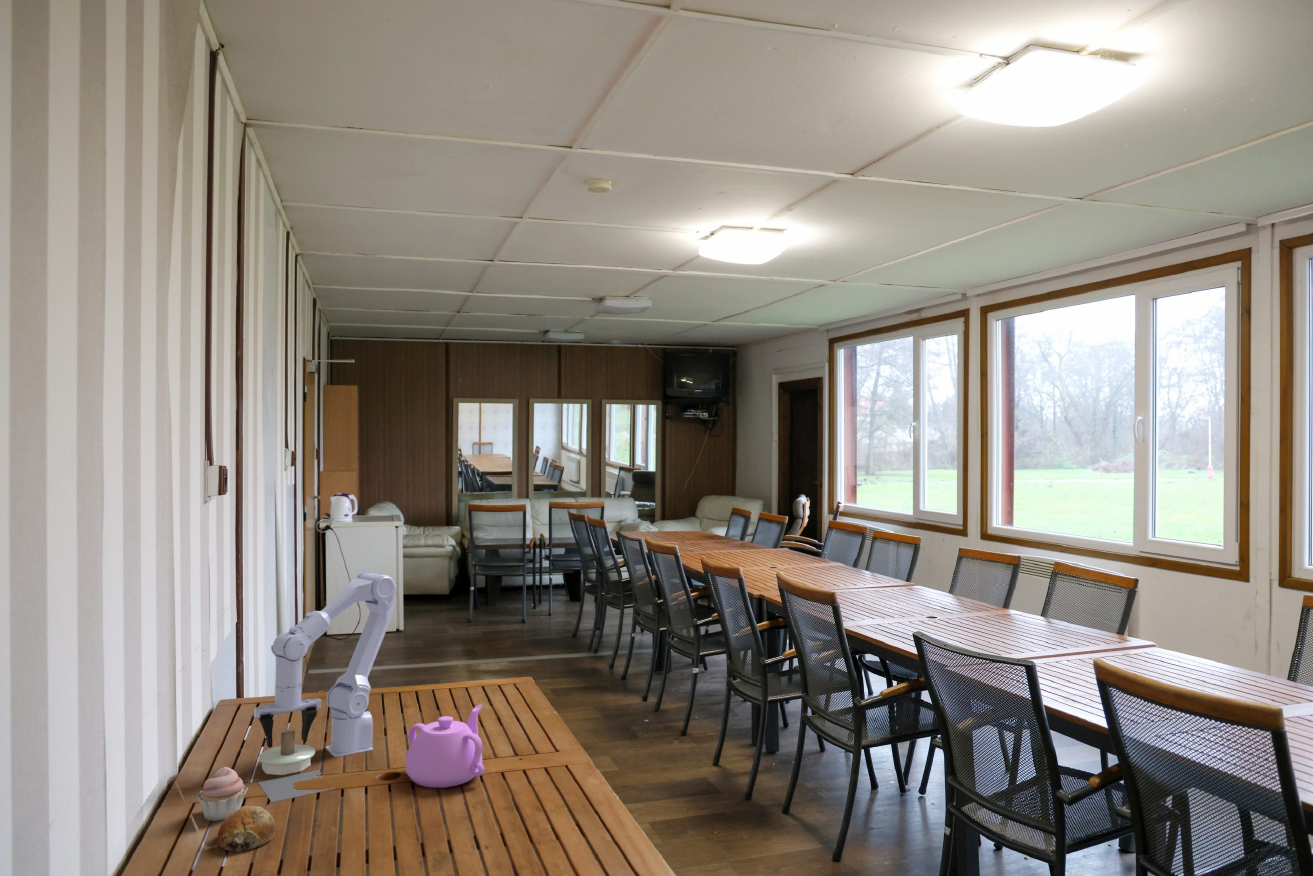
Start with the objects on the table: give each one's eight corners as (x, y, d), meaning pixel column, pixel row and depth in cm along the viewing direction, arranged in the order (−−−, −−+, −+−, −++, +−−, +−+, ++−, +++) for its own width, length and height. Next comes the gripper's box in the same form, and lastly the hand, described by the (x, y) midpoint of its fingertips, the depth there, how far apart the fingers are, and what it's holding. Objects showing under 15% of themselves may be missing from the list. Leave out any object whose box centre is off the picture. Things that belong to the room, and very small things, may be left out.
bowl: (302, 757, 205) (303, 745, 205) (313, 770, 197) (314, 757, 198) (259, 766, 199) (259, 753, 200) (268, 779, 192) (269, 766, 192)
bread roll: (279, 857, 163) (293, 812, 167) (242, 855, 155) (257, 808, 158) (239, 848, 166) (253, 804, 170) (200, 846, 158) (216, 800, 161)
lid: (315, 744, 206) (316, 721, 206) (314, 762, 195) (314, 737, 195) (261, 750, 202) (262, 726, 202) (256, 768, 190) (257, 742, 190)
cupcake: (213, 830, 166) (214, 779, 166) (186, 818, 171) (188, 768, 171) (257, 813, 174) (258, 764, 174) (230, 802, 179) (232, 755, 179)
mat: (318, 771, 197) (318, 770, 197) (335, 790, 186) (335, 788, 186) (258, 784, 189) (258, 782, 189) (271, 804, 178) (271, 802, 178)
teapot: (516, 767, 202) (517, 709, 202) (459, 801, 182) (460, 736, 182) (442, 752, 211) (444, 696, 211) (380, 782, 191) (382, 721, 191)
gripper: (316, 676, 206) (314, 732, 206) (251, 685, 198) (249, 744, 197) (324, 683, 201) (322, 741, 200) (258, 692, 192) (256, 753, 192)
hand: (287, 743), depth 199 cm, fingers open, 7 cm apart
